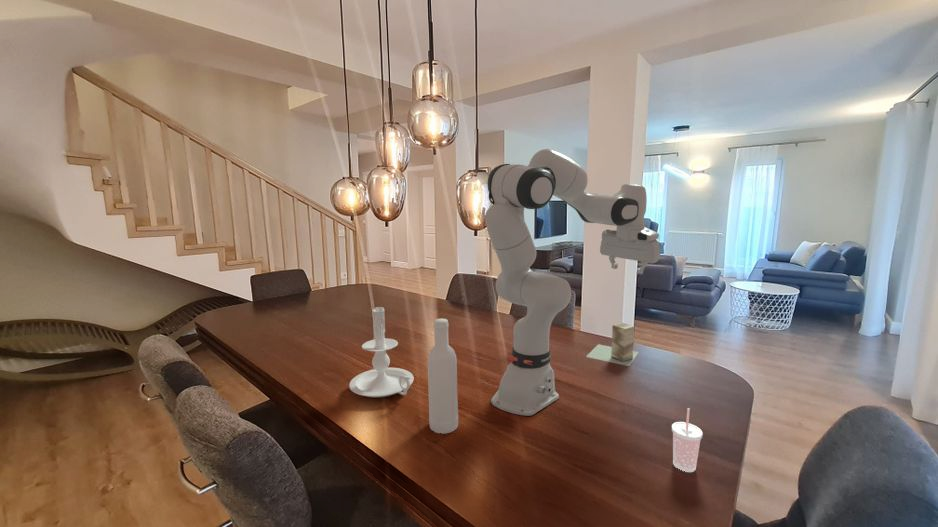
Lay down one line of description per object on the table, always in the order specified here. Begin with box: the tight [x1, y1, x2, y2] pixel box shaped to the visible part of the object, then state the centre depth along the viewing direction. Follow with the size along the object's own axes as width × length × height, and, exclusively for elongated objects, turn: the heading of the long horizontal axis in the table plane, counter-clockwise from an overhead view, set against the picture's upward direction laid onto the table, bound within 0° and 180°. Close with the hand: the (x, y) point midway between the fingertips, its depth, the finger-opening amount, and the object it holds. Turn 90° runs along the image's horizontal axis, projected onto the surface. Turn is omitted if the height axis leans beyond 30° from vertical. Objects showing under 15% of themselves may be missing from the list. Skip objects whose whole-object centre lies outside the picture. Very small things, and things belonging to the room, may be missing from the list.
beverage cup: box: [671, 407, 704, 473], centre depth 87 cm, size 6×6×14 cm
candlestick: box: [348, 306, 415, 398], centre depth 124 cm, size 21×25×28 cm
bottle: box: [426, 318, 459, 435], centre depth 103 cm, size 8×8×30 cm
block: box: [611, 322, 635, 362], centre depth 147 cm, size 6×6×13 cm
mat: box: [585, 343, 639, 367], centre depth 152 cm, size 16×16×1 cm
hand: (626, 270), depth 136 cm, fingers open, 8 cm apart
